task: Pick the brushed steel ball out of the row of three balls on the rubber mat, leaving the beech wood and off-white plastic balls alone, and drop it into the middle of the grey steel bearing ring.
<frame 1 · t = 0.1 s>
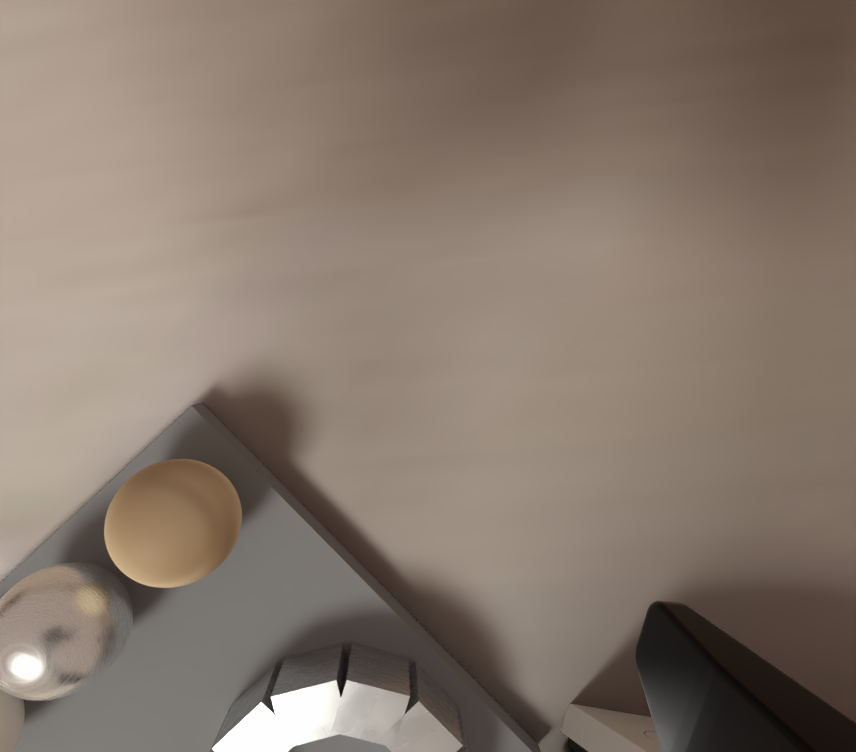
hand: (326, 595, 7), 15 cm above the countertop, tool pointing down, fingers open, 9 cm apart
mat: (239, 708, 23), on the countertop
wood ball: (176, 521, 19), point 3 cm above the countertop, touching mat
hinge: (728, 750, 25), on the countertop
steel ball: (61, 628, 19), point 3 cm above the countertop, touching mat
race: (346, 746, 23), resting on mat
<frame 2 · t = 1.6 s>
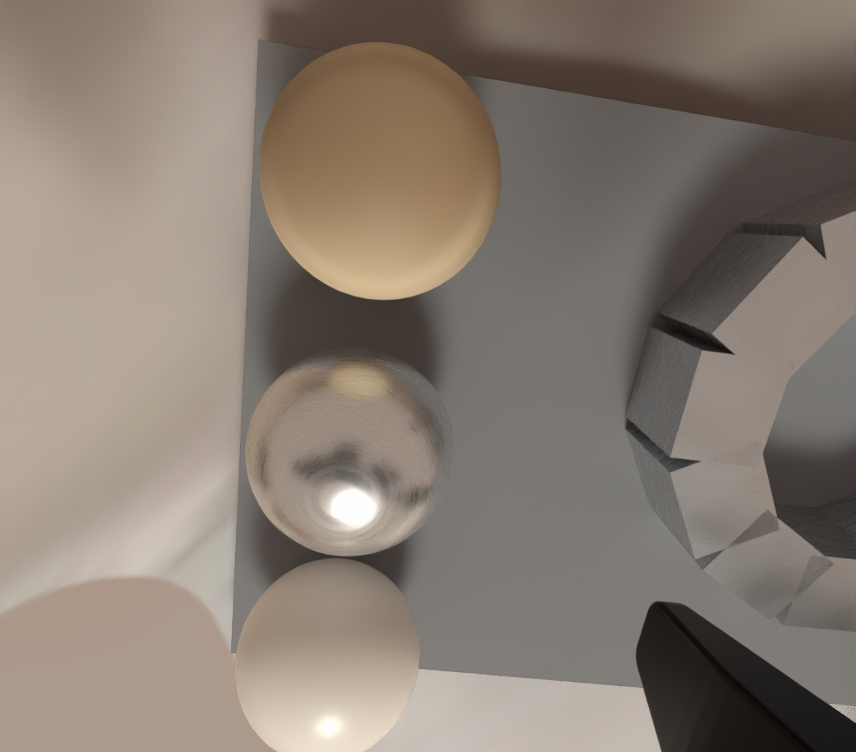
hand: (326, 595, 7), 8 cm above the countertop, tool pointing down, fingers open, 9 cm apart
mat: (625, 429, 15), on the countertop
wood ball: (382, 181, 10), point 3 cm above the countertop, touching mat
steel ball: (352, 448, 11), point 3 cm above the countertop, touching mat
plastic ball: (330, 652, 13), point 3 cm above the countertop, touching mat
race: (795, 382, 15), resting on mat
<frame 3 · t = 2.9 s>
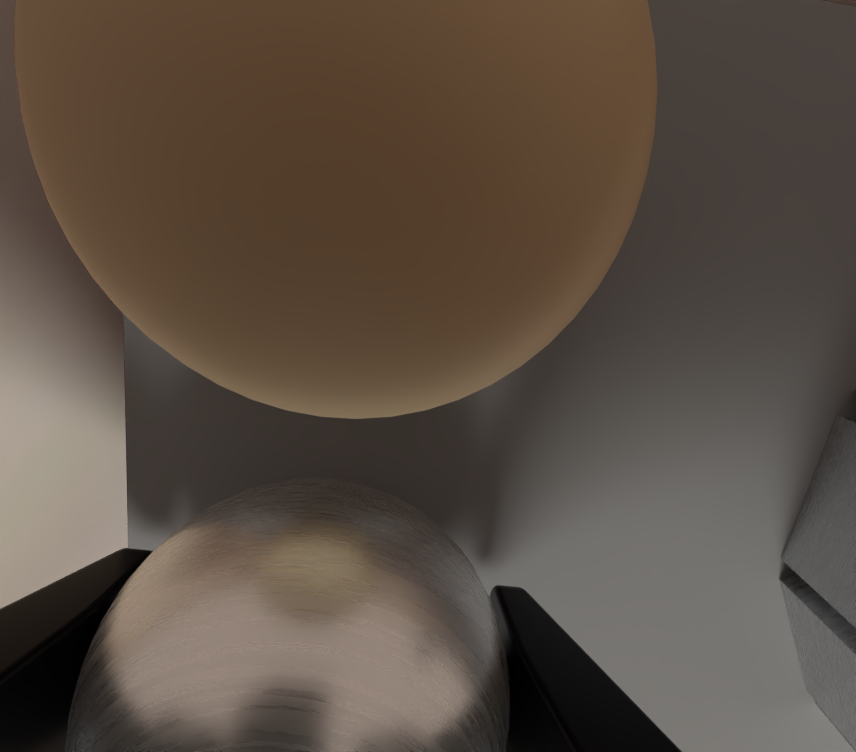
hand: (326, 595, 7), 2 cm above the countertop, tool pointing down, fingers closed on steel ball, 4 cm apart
mat: (758, 559, 10), on the countertop
wood ball: (359, 144, 4), point 3 cm above the countertop, touching mat
steel ball: (307, 681, 6), point 3 cm above the countertop, touching gripper, mat
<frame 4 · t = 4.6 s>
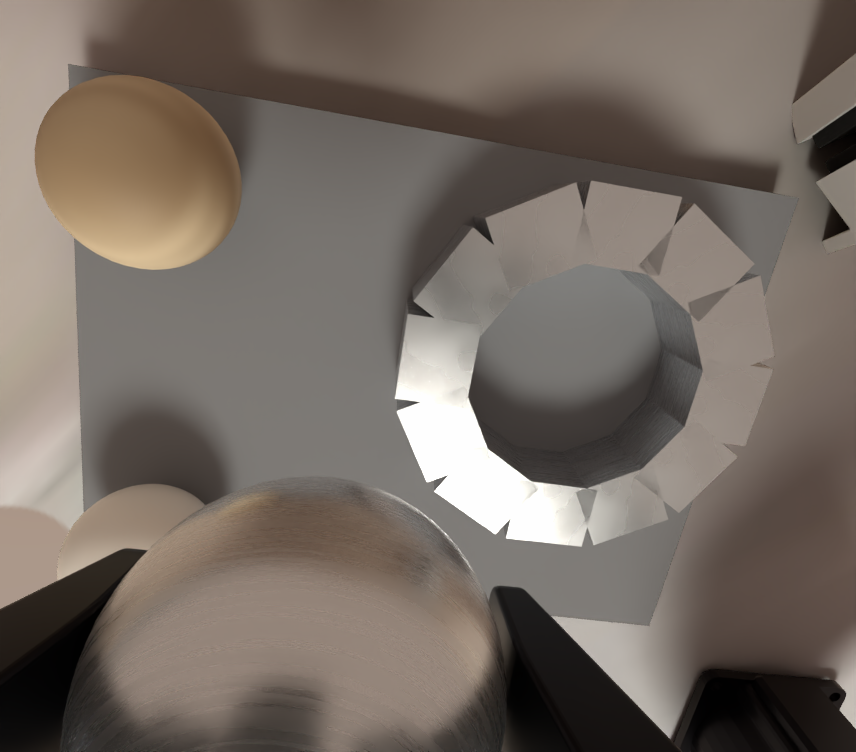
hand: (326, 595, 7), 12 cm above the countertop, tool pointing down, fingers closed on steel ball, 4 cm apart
mat: (413, 386, 18), on the countertop
wood ball: (146, 178, 13), point 3 cm above the countertop, touching mat
steel ball: (304, 680, 6), point 13 cm above the countertop, touching gripper
plastic ball: (144, 557, 16), point 3 cm above the countertop, touching mat
race: (550, 349, 18), resting on mat
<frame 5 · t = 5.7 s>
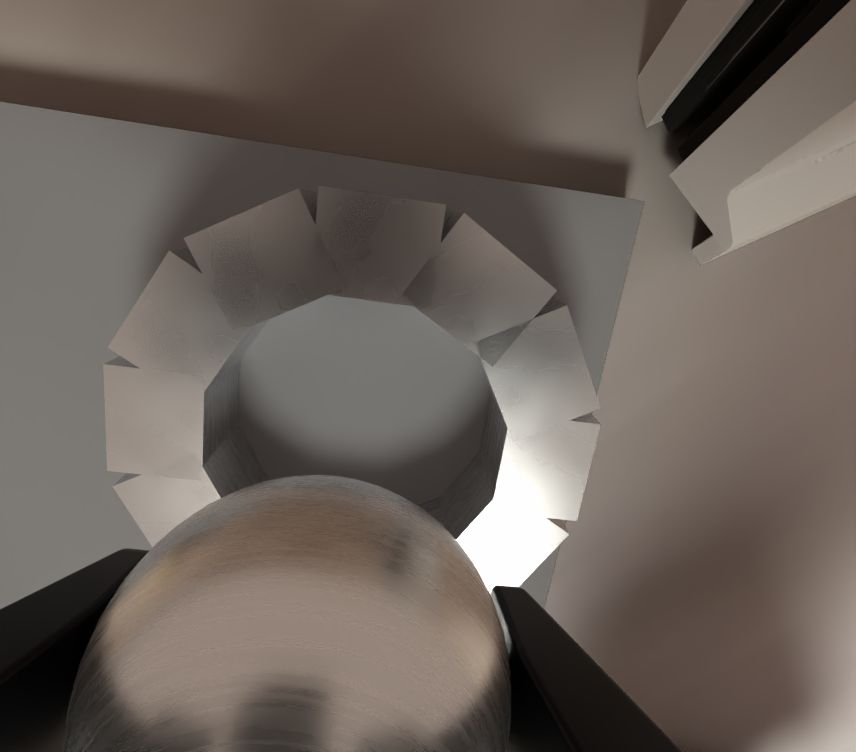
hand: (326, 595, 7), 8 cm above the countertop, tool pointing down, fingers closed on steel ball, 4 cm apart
mat: (203, 438, 15), on the countertop
steel ball: (307, 679, 6), point 10 cm above the countertop, touching gripper
race: (367, 392, 15), resting on mat
when the fingers open (6 cm above the countertop, at t = 6.4 s): steel ball drops 4 cm, resting on mat.
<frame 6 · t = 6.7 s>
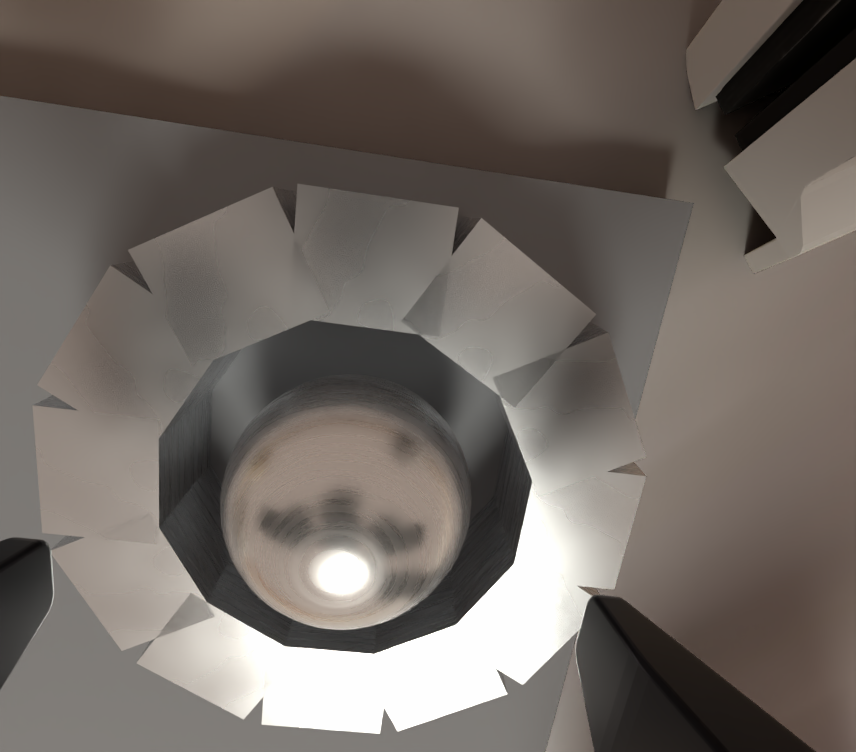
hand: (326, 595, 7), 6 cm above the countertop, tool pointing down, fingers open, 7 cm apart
mat: (173, 478, 13), on the countertop
steel ball: (350, 495, 10), point 3 cm above the countertop, touching mat
race: (363, 424, 13), resting on mat
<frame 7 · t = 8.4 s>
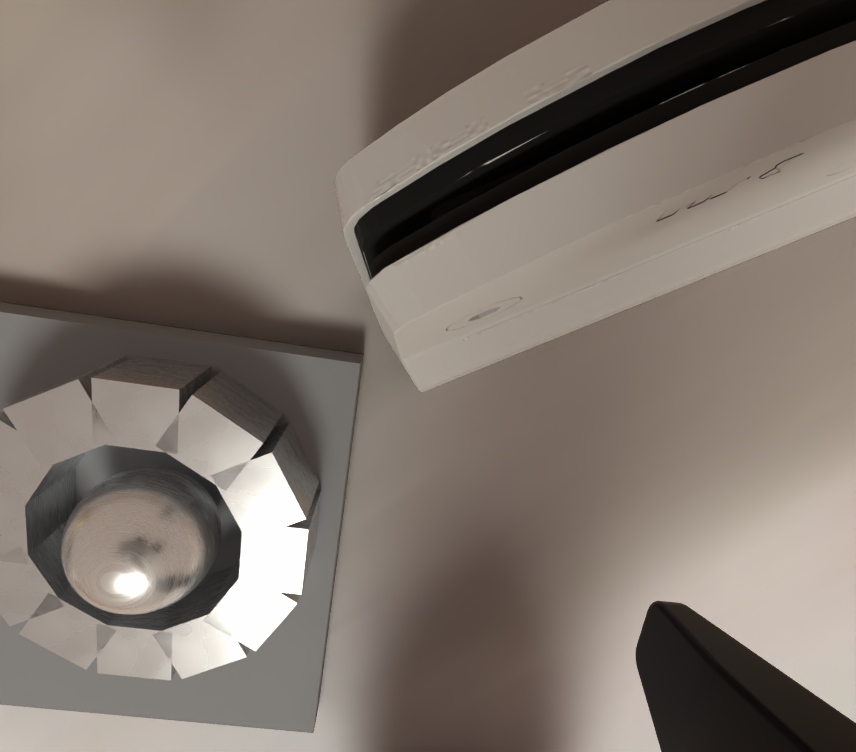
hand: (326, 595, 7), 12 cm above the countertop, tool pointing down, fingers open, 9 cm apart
mat: (61, 517, 20), on the countertop
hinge: (598, 198, 18), on the countertop
steel ball: (146, 537, 17), point 3 cm above the countertop, touching mat
race: (184, 485, 20), resting on mat
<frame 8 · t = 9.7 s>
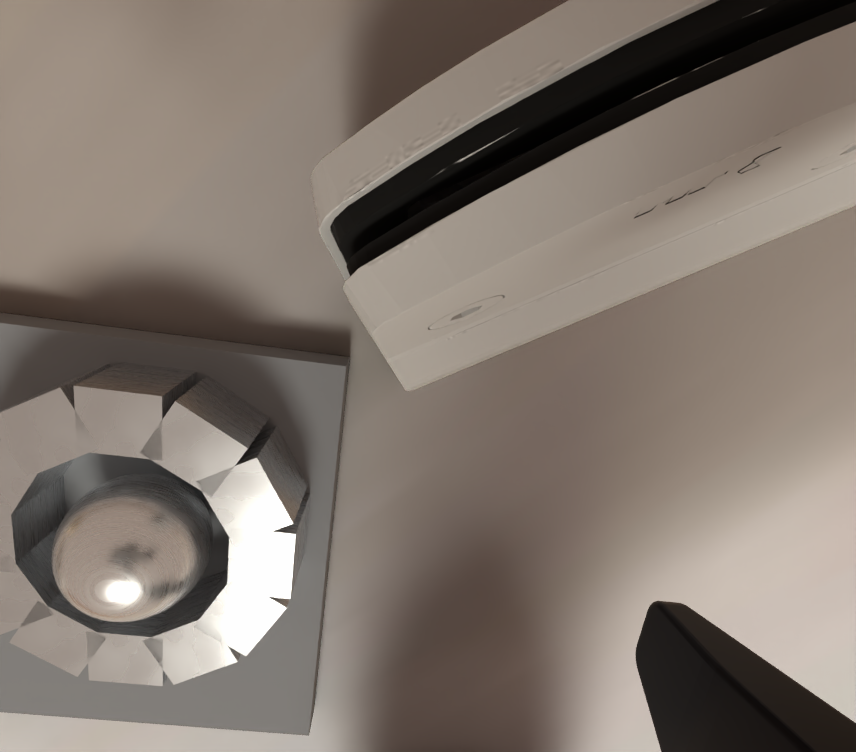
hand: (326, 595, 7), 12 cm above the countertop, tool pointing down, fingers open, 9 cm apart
mat: (51, 524, 20), on the countertop
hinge: (584, 194, 18), on the countertop
steel ball: (137, 544, 17), point 3 cm above the countertop, tilted 8°, touching mat
race: (173, 490, 20), resting on mat
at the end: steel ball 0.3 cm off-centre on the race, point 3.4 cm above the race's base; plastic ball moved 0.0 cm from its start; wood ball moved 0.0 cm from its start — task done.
